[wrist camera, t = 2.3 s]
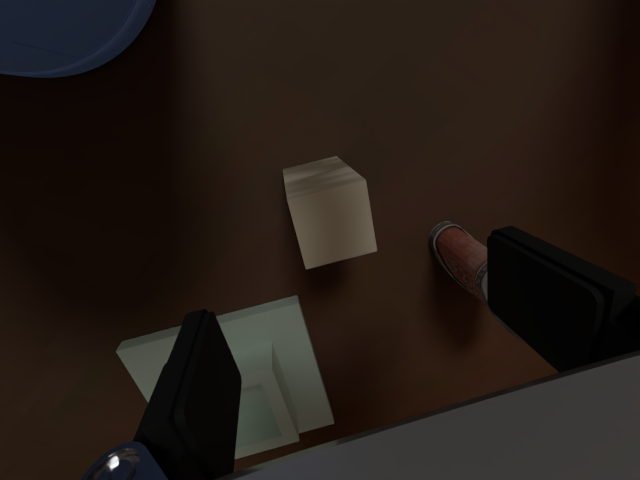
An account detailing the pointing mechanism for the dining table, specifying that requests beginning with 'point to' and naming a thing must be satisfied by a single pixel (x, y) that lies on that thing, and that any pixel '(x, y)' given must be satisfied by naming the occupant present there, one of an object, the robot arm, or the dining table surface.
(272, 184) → the dining table surface
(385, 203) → the dining table surface
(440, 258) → the lighter
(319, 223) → the birch peg
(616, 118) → the dining table surface
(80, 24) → the water jug
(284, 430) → the slot holder
